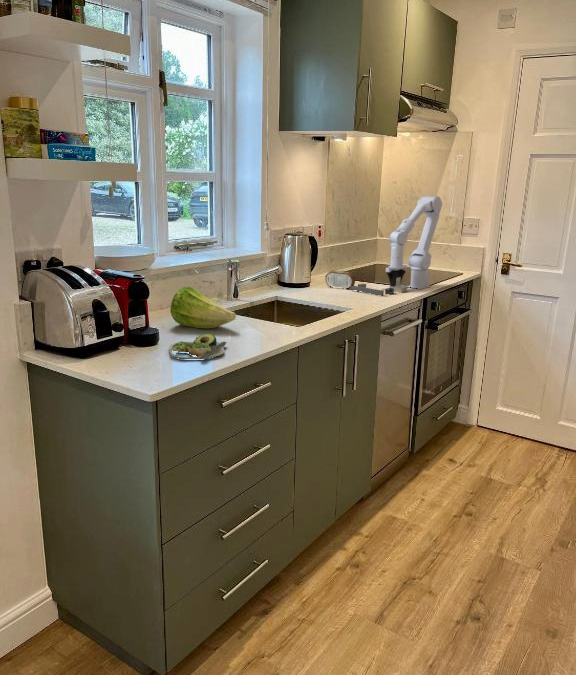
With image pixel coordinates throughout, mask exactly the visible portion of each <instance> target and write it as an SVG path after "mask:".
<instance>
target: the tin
mask: <svg viewBox="0 0 576 675" xmlns="http://www.w3.org/2000/svg"><path fill="white" fill-rule="evenodd" d="M325 283H326V285H327V286H328V287H329V286H335V287H342V288H350V289H351V286H355V284H356V278H355V276H354V274H353V273H351V272H349V271H343V270H331V271H329V272H327V274H325Z"/></svg>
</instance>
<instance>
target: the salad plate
mask: <svg viewBox="0 0 576 675" xmlns="http://www.w3.org/2000/svg"><path fill="white" fill-rule="evenodd" d="M227 343H228V342H226V341H222V342H220V341H217V338H216V335H214V334H213V333H203V334H200V335H198V336H196V337H195V339H194V340H193V341H183V340H182V341H179V342H175V343H174V342H173V344H170V345H169V348H168V351H169V355H170V356H171V357H172V358H174V357H175V358H179V359H208V358H212V357H215V358H217V357H216V356H218V357H220V356H222V354H224V353H225V349H224V347H225V345H226V344H227ZM172 350H173V351H178V352H189V354H191V355H196V356H197V357H191V355H190V356H180V355H174V354H173V353H172ZM189 354H188V355H189ZM219 355H220V356H219ZM175 358H174V359H175ZM212 359H213V358H212ZM208 360H209V359H208Z"/></svg>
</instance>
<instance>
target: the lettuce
mask: <svg viewBox="0 0 576 675" xmlns="http://www.w3.org/2000/svg"><path fill="white" fill-rule="evenodd" d="M169 313H170V315H171V317H172V319H173V320H174V321H175V323H177V324H179V325H180V326H184V327H190V328H195V329H213V328H217V327H220V326H223V325H225V324H229V323H231V322H233V321H235V320H236V317H237V314H236V313H235V312H234V311H231V310H228V309H227V308H226V307H225V306H222V305H220V304H218V303H217V302H215V301H214V300H212V299H211V298H209V297H207V296H205V295H204V294H203V293H201V292H200V291H198V290H197V289H196V288H194V287H191V286H183V287H182V288H180V289H179V290H177V292H176V293H174V295H173V297H172V300H171V302H170V311H169Z"/></svg>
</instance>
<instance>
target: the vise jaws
mask: <svg viewBox="0 0 576 675" xmlns="http://www.w3.org/2000/svg"><path fill="white" fill-rule="evenodd" d="M387 288H388V289H386V288H384V289H385V291H384V290H382V289H377V288H369V287H367V283H359V284H357V285H354V286H351V288H350V290H351V289H352V290H357V291H362V292H366V293H371V294H370V295H372V294H375V295H374V296H378V295H381V296H380V297H384V296H383V295H387V294H390V295H393V294H392V293H395V292H394V288H389V287H387ZM366 293H365V294H366Z"/></svg>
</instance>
